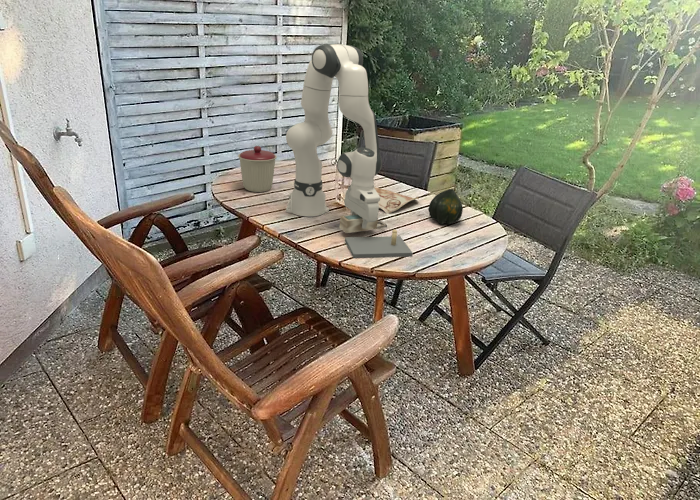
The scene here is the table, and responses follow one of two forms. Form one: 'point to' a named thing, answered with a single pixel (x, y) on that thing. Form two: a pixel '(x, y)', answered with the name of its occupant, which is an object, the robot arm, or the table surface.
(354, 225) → the frame
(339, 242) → the table surface
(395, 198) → the poster
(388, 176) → the table surface
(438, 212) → the squash
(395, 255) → the board
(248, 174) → the canister
